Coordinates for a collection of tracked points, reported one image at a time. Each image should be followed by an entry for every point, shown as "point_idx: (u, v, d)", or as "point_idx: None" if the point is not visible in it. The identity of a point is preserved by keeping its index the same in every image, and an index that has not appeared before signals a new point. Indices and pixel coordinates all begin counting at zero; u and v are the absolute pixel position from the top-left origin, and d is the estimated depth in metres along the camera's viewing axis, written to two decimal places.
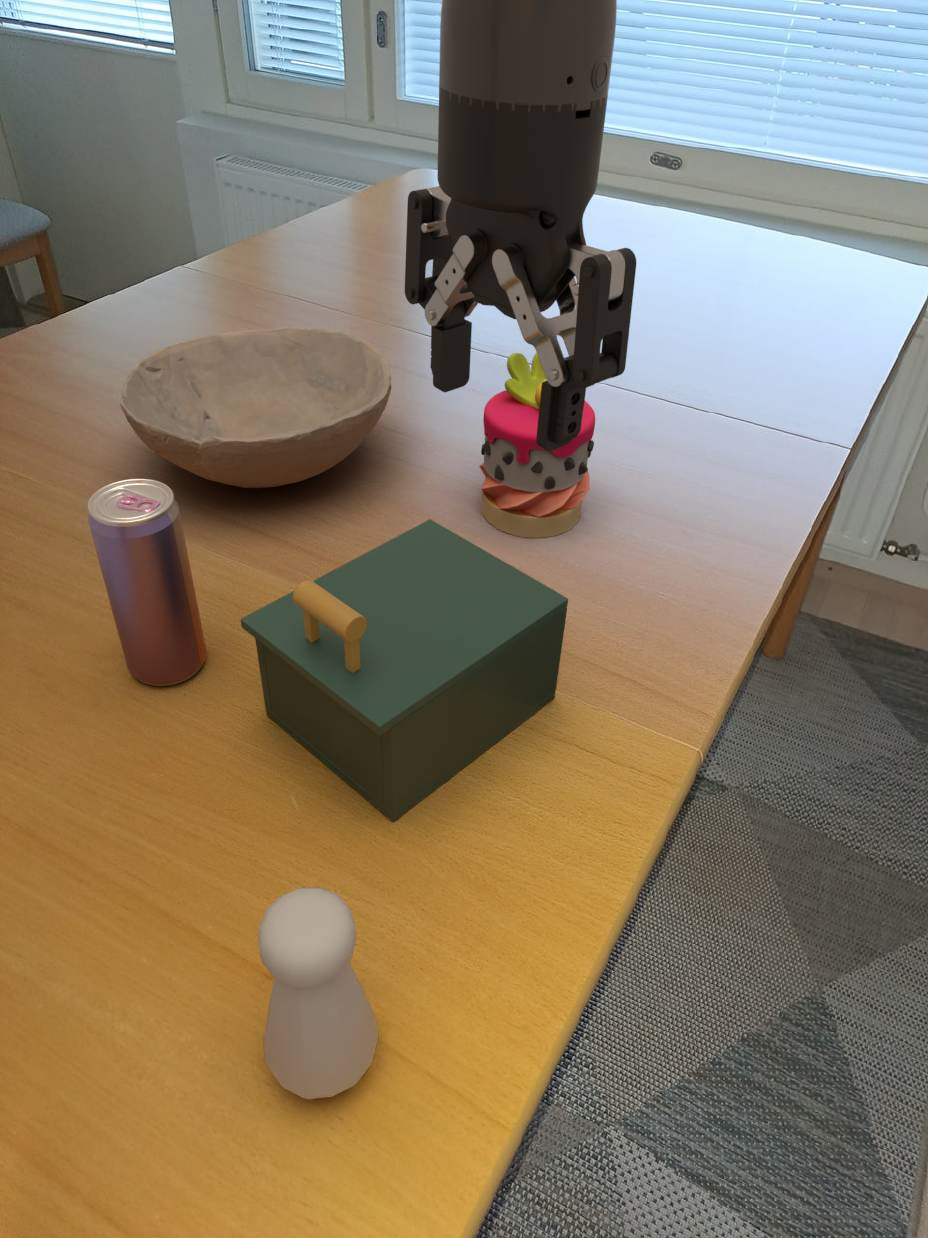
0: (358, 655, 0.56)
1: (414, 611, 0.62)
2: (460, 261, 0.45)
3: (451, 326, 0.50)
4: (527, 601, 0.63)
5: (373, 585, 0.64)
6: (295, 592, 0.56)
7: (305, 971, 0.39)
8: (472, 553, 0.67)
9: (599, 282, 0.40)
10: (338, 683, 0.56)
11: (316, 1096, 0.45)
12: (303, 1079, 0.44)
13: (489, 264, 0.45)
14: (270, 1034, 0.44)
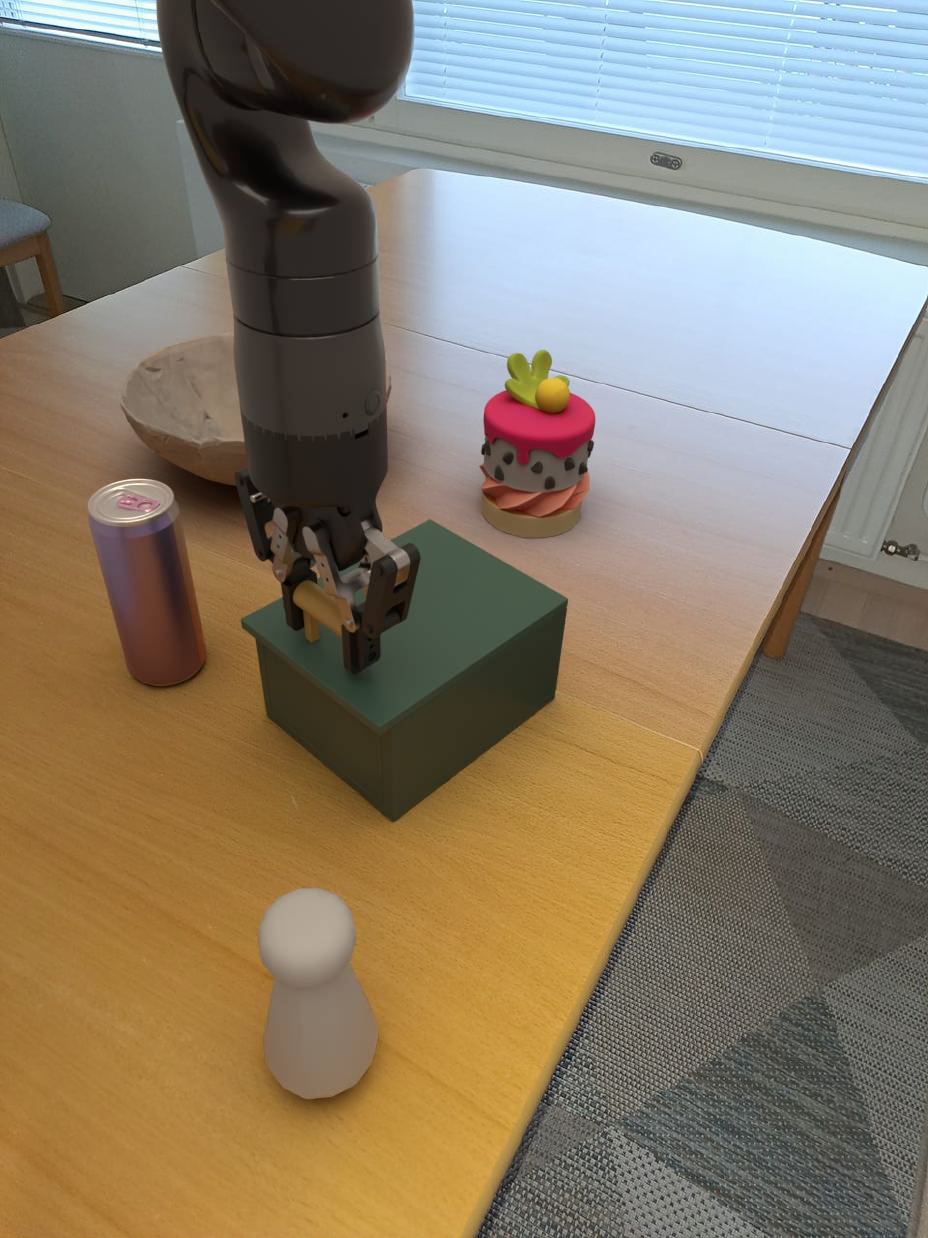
0: None
1: (414, 611, 0.62)
2: (278, 526, 0.52)
3: (298, 580, 0.57)
4: (527, 601, 0.63)
5: None
6: (295, 592, 0.56)
7: (305, 971, 0.39)
8: (472, 553, 0.67)
9: (386, 582, 0.48)
10: (338, 683, 0.56)
11: (316, 1096, 0.45)
12: (302, 1079, 0.44)
13: None
14: (270, 1034, 0.44)
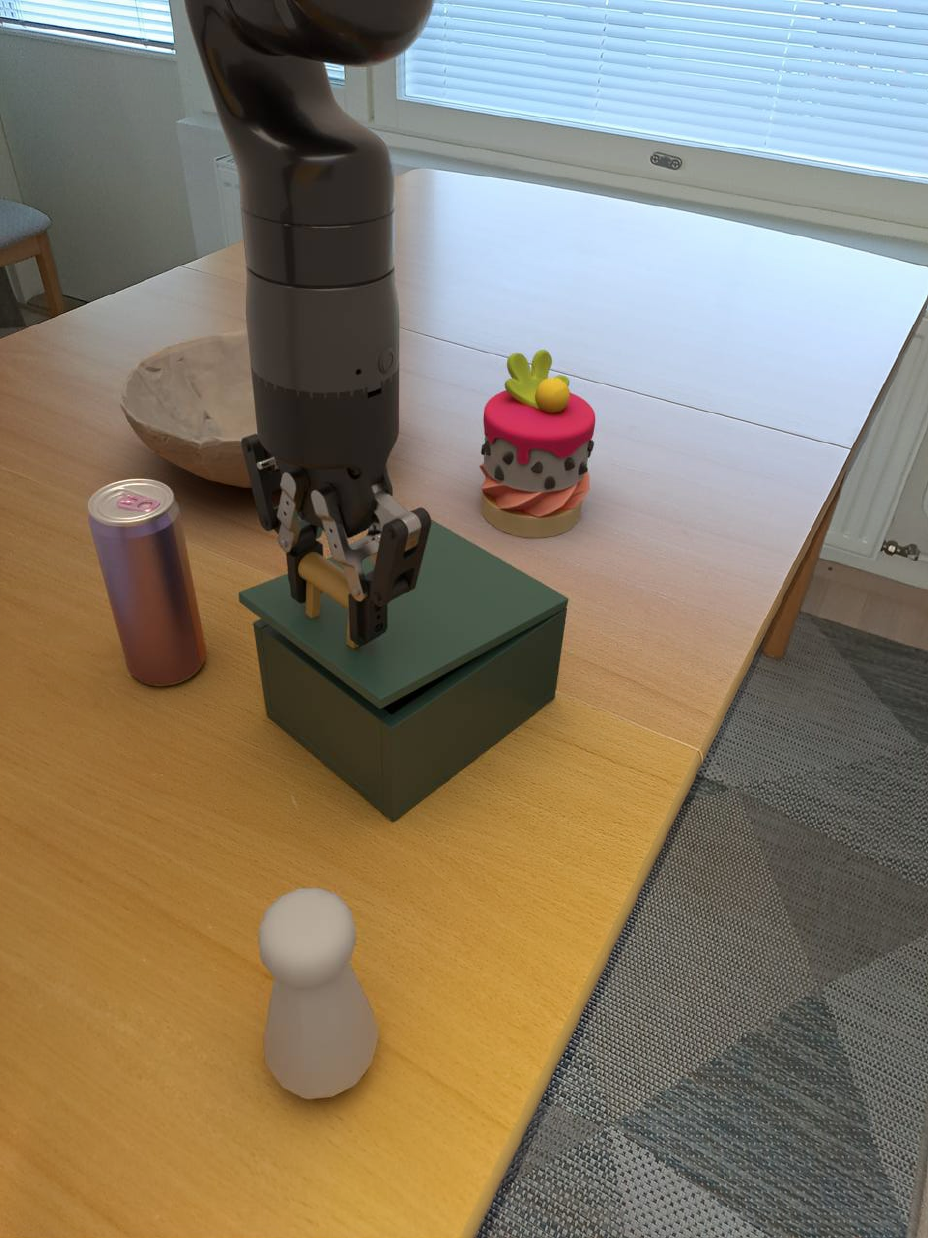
0: None
1: (415, 598, 0.61)
2: (285, 491, 0.51)
3: (303, 550, 0.56)
4: (528, 597, 0.63)
5: None
6: (301, 562, 0.56)
7: (305, 971, 0.39)
8: (473, 551, 0.67)
9: (396, 545, 0.47)
10: (338, 657, 0.55)
11: (316, 1096, 0.45)
12: (303, 1079, 0.44)
13: None
14: (270, 1034, 0.44)
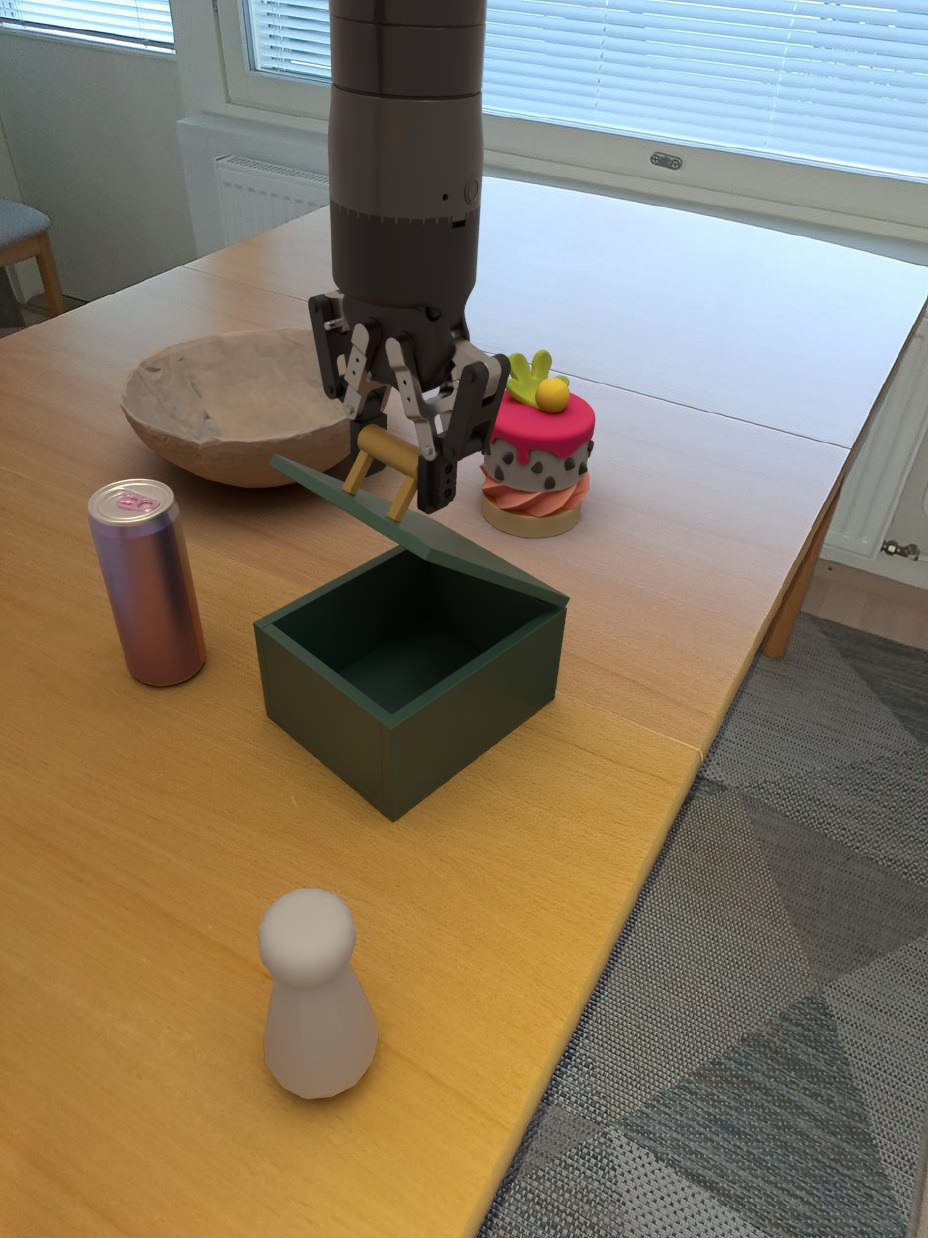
0: (408, 503, 0.53)
1: (438, 533, 0.60)
2: (357, 346, 0.50)
3: (368, 419, 0.55)
4: (536, 581, 0.63)
5: None
6: (366, 427, 0.54)
7: (305, 971, 0.39)
8: (477, 545, 0.67)
9: (477, 388, 0.46)
10: (382, 516, 0.52)
11: (316, 1096, 0.45)
12: (302, 1079, 0.44)
13: (384, 348, 0.50)
14: (270, 1034, 0.44)
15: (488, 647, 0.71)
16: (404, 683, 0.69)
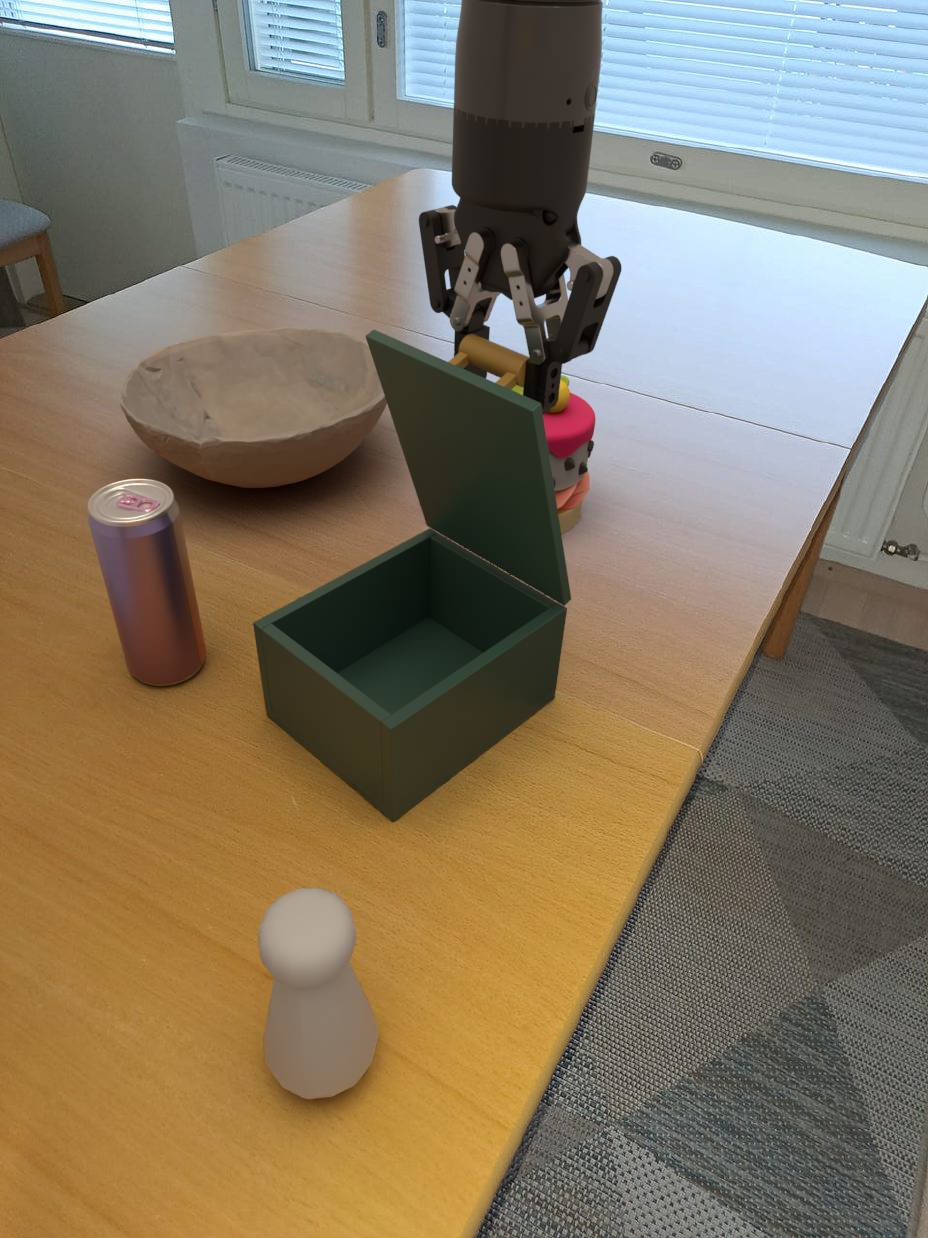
0: None
1: None
2: (470, 254, 0.53)
3: (473, 331, 0.58)
4: None
5: None
6: (473, 334, 0.57)
7: (305, 971, 0.39)
8: None
9: (592, 287, 0.49)
10: None
11: (316, 1096, 0.45)
12: (302, 1079, 0.44)
13: (496, 256, 0.53)
14: (270, 1034, 0.44)
15: (488, 647, 0.71)
16: (404, 683, 0.69)
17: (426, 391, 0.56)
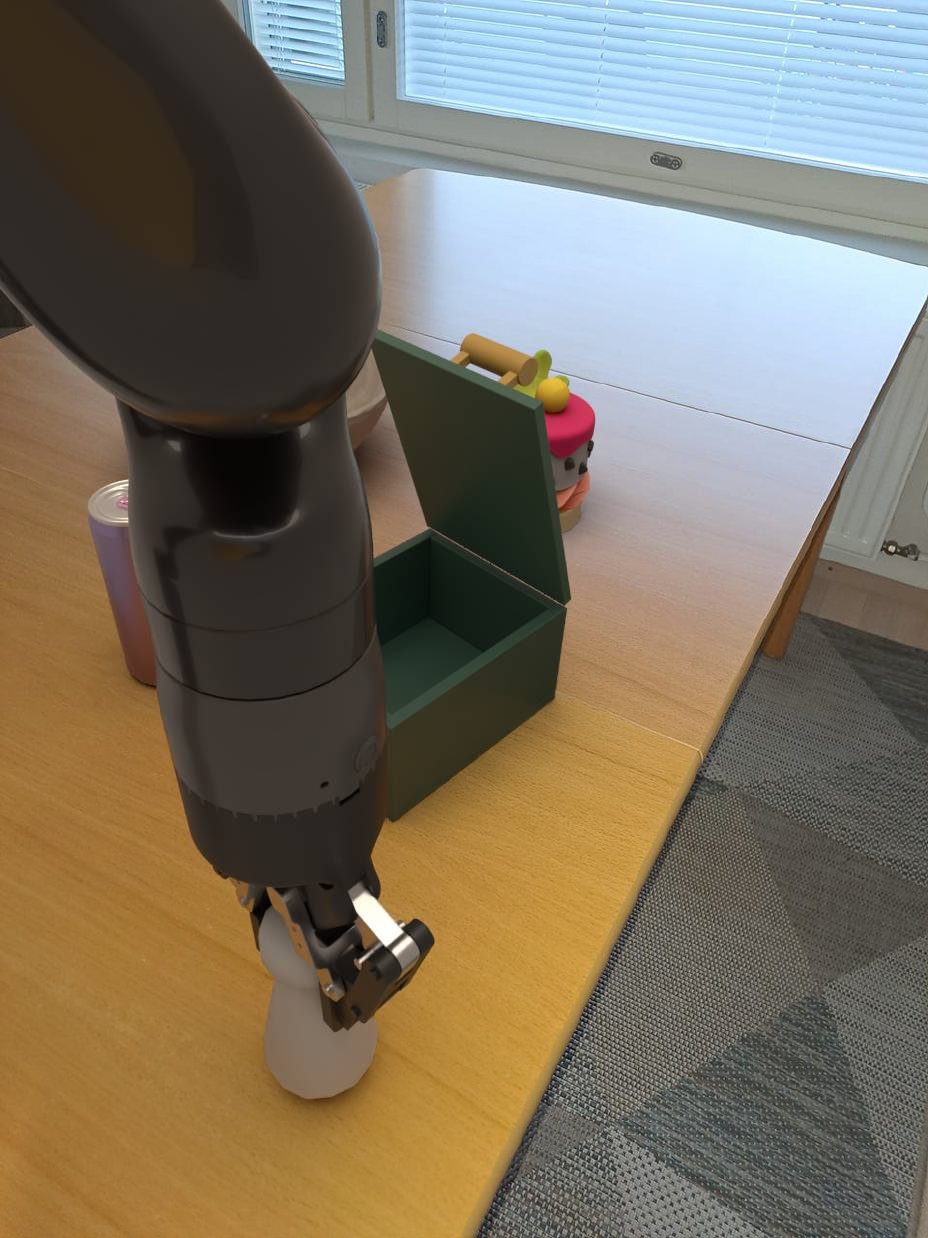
0: None
1: None
2: None
3: (271, 904, 0.42)
4: None
5: None
6: (474, 333, 0.57)
7: (306, 971, 0.39)
8: None
9: (385, 989, 0.33)
10: None
11: (316, 1096, 0.45)
12: (303, 1079, 0.44)
13: None
14: (270, 1034, 0.44)
15: (488, 647, 0.71)
16: (404, 683, 0.69)
17: (427, 390, 0.56)
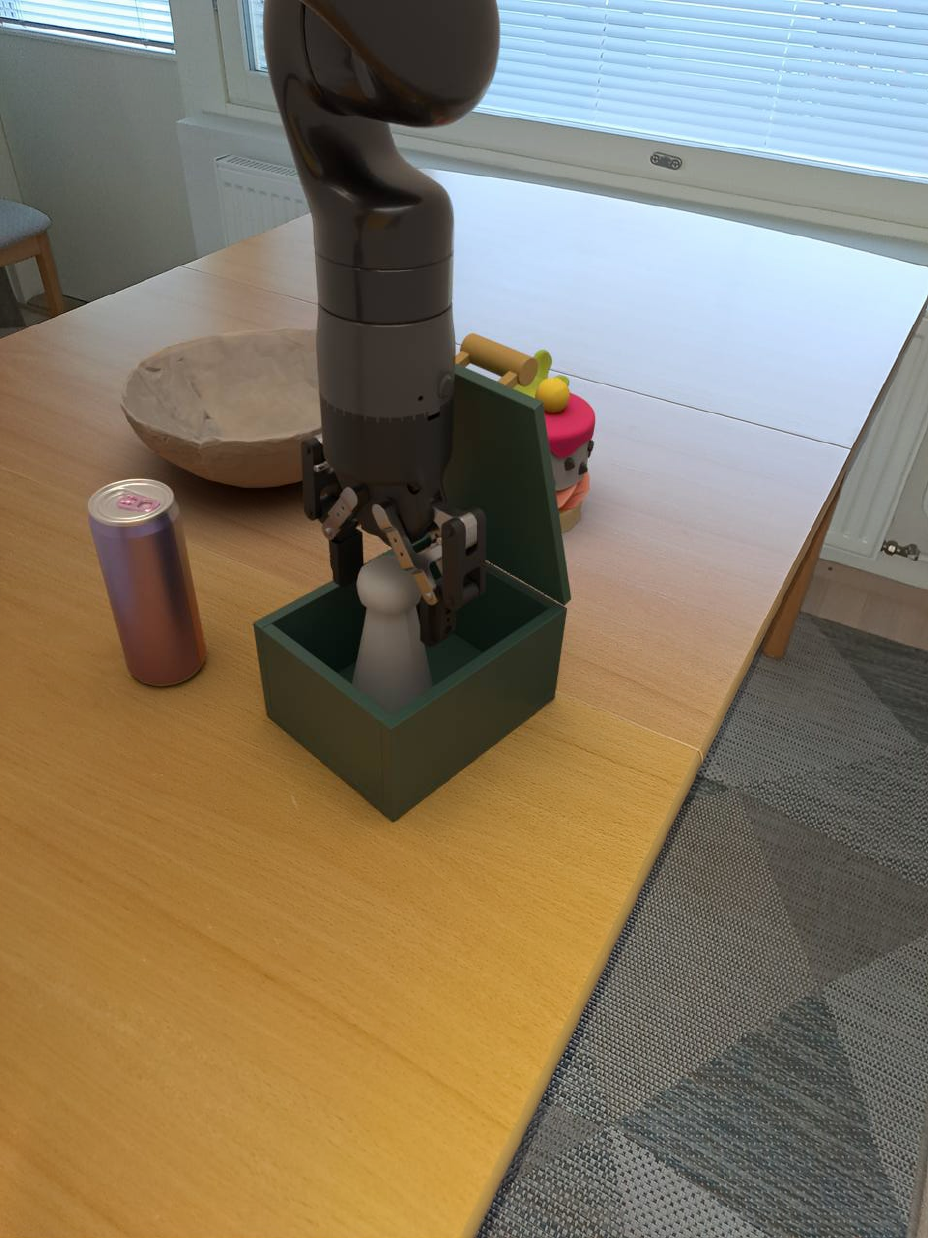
0: None
1: None
2: (347, 504, 0.55)
3: (345, 538, 0.60)
4: None
5: None
6: (474, 333, 0.57)
7: (392, 596, 0.57)
8: None
9: (456, 541, 0.50)
10: None
11: None
12: (382, 701, 0.62)
13: (371, 507, 0.55)
14: (360, 670, 0.62)
15: (488, 647, 0.71)
16: None
17: None
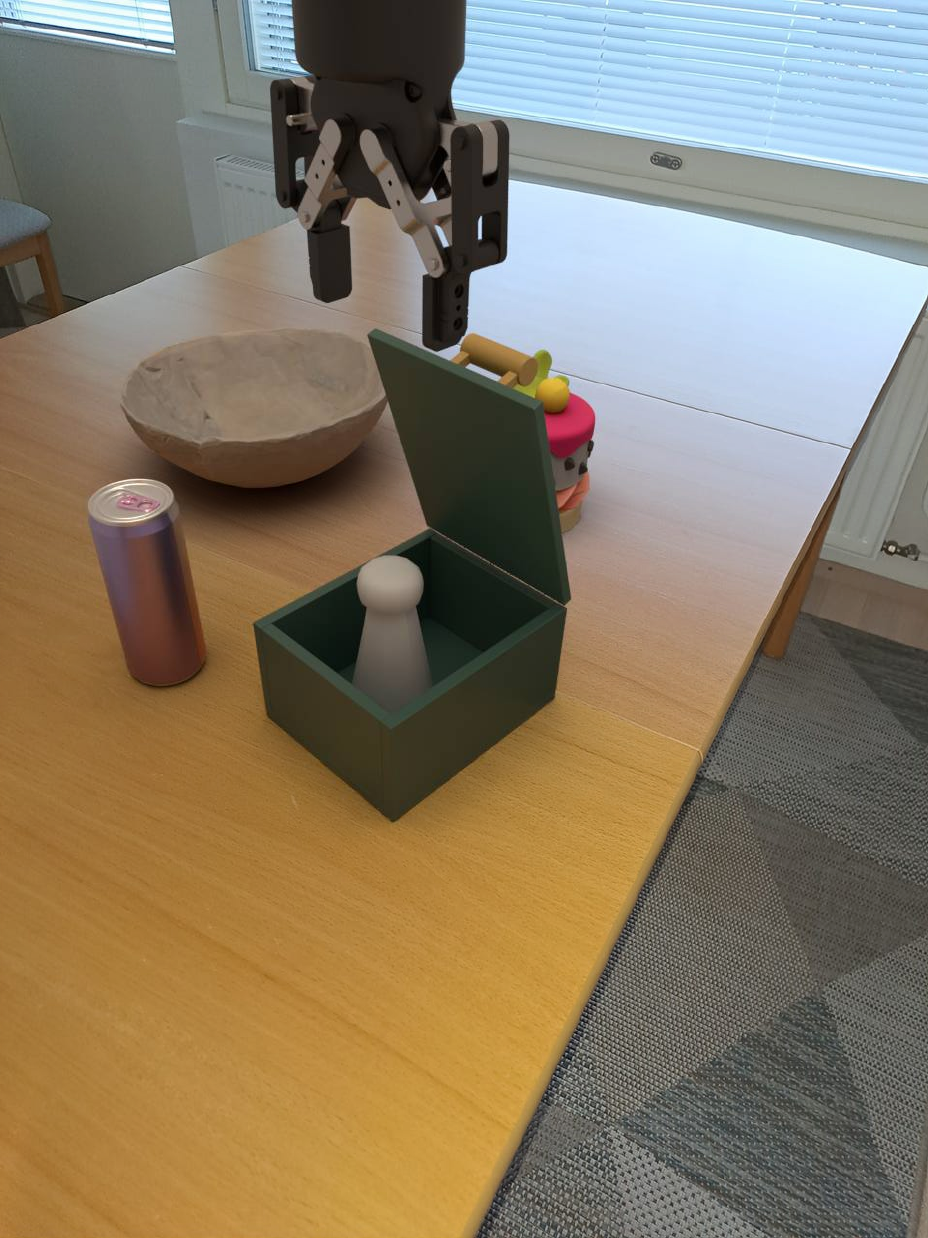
0: None
1: None
2: (328, 149, 0.43)
3: (327, 230, 0.48)
4: None
5: None
6: (474, 333, 0.57)
7: (392, 596, 0.57)
8: None
9: (471, 153, 0.38)
10: None
11: None
12: (382, 701, 0.62)
13: (359, 150, 0.43)
14: (360, 670, 0.62)
15: (488, 647, 0.71)
16: None
17: (427, 390, 0.56)
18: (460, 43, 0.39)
